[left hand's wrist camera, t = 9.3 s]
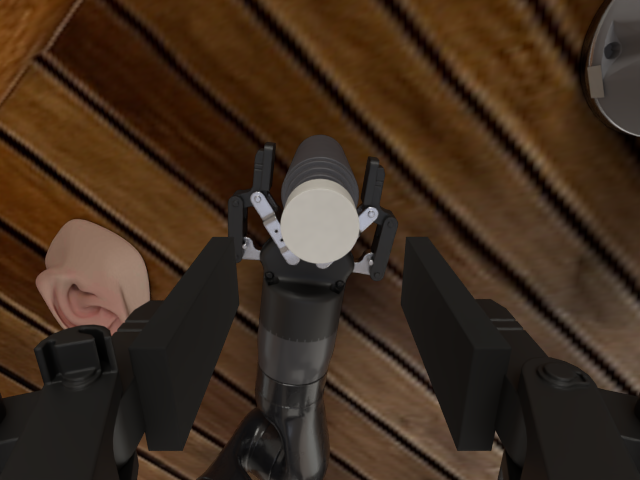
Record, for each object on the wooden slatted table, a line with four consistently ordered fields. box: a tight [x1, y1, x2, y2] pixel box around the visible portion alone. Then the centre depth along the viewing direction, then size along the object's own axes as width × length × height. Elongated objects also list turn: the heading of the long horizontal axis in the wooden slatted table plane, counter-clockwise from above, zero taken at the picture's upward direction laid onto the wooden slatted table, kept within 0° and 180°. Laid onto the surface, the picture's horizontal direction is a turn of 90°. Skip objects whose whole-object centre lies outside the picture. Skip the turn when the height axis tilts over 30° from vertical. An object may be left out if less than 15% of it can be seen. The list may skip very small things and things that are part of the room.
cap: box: [280, 179, 360, 264], centre depth 20 cm, size 4×4×2 cm
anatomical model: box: [36, 219, 150, 336], centre depth 41 cm, size 13×4×12 cm
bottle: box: [281, 135, 359, 208], centre depth 29 cm, size 5×5×21 cm
